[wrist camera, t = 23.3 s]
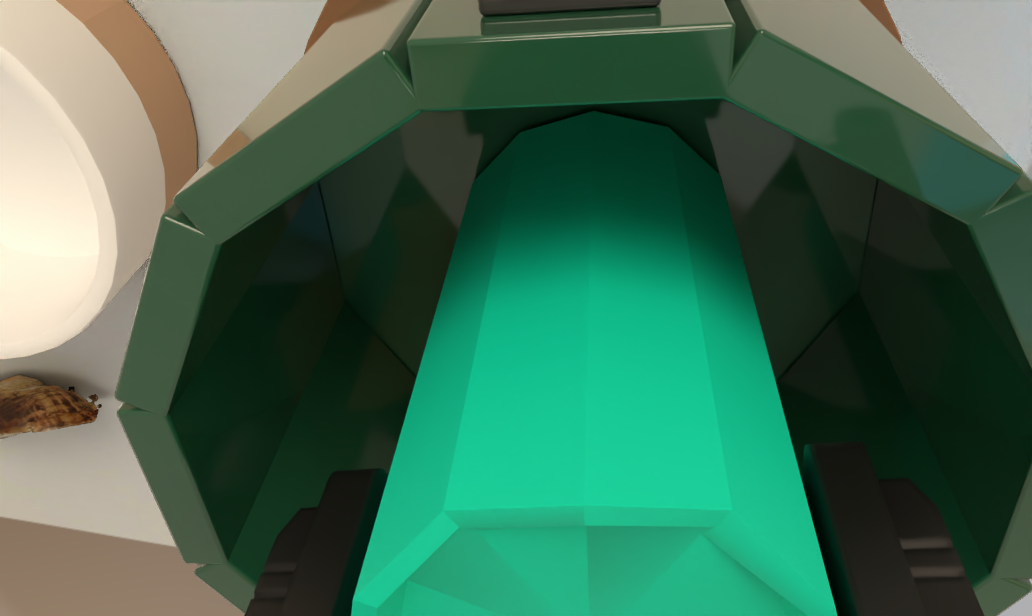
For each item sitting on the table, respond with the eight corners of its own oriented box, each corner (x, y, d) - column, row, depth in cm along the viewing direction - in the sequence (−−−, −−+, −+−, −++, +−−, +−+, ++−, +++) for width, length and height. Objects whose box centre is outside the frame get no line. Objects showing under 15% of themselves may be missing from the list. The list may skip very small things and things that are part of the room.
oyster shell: (55, 367, 55) (108, 374, 48) (58, 423, 55) (111, 439, 48) (-54, 375, 51) (-13, 384, 44) (-51, 436, 51) (-10, 456, 44)
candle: (781, 280, 19) (983, 895, 9) (554, 385, 21) (512, 967, 11) (650, 53, 16) (725, 565, 6) (406, 200, 18) (179, 747, 8)
